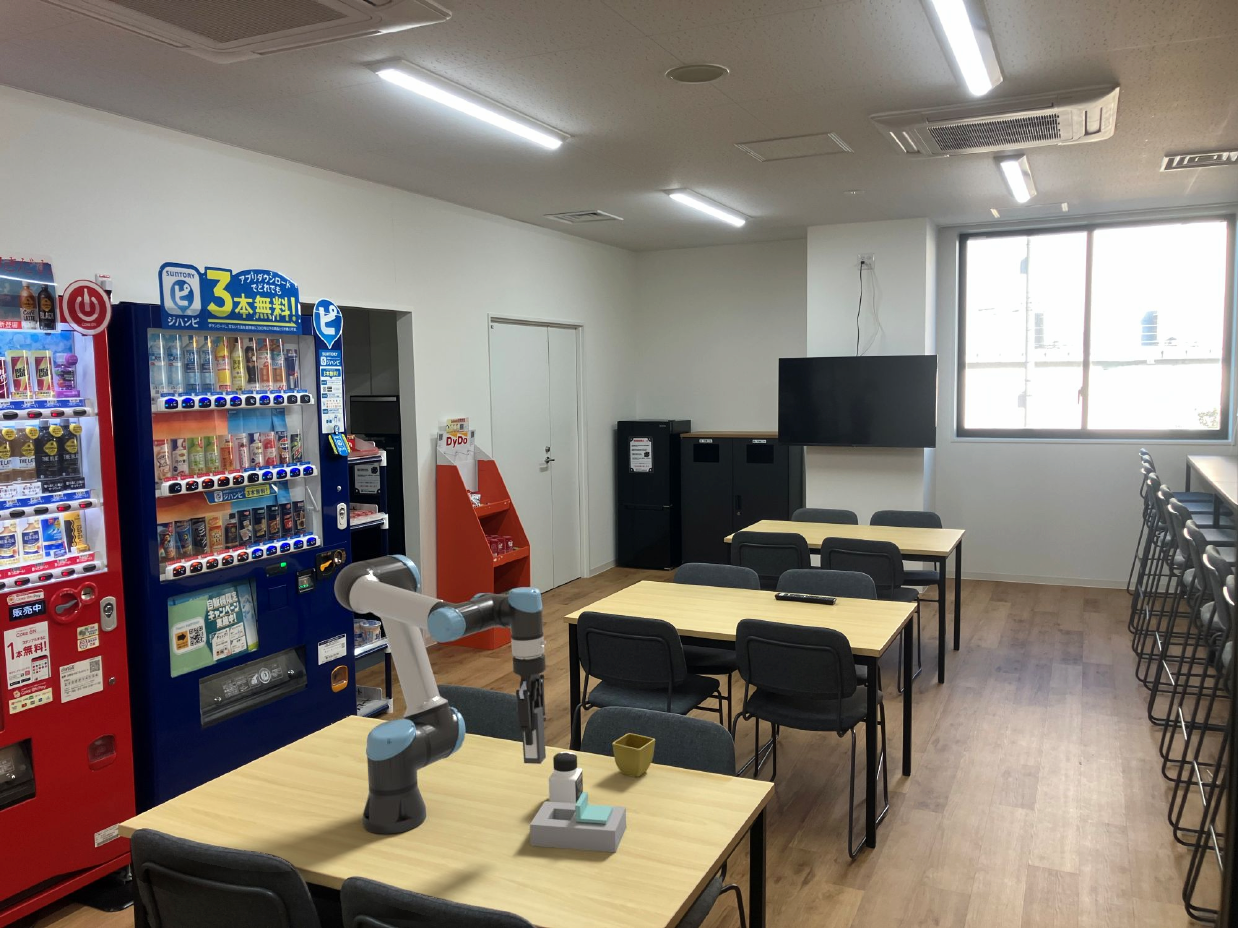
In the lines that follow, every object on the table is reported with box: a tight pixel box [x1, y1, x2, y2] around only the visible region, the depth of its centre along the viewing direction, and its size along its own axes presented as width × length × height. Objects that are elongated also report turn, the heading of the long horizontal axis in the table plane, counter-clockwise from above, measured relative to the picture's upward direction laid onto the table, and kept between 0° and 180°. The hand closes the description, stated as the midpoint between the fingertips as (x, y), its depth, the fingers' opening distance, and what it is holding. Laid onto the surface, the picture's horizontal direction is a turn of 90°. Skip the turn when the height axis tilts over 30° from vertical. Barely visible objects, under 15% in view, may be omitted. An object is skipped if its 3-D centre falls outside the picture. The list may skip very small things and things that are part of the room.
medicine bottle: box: [548, 751, 584, 804], centre depth 233 cm, size 7×7×12 cm
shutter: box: [575, 791, 614, 824], centre depth 213 cm, size 7×7×4 cm
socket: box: [529, 801, 627, 853], centre depth 214 cm, size 20×12×5 cm, turn 78°
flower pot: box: [611, 732, 656, 778], centre depth 249 cm, size 9×9×9 cm
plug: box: [521, 707, 547, 765], centre depth 214 cm, size 4×4×12 cm
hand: (534, 753), depth 214 cm, fingers closed on plug, 4 cm apart
